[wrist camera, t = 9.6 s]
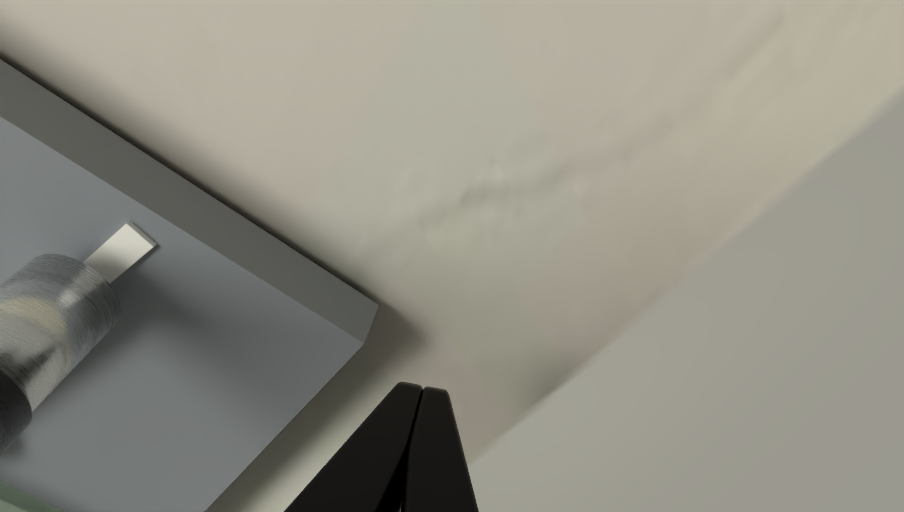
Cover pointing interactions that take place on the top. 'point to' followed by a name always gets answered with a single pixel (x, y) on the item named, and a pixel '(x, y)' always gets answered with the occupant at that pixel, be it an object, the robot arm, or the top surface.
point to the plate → (158, 319)
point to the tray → (21, 501)
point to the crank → (47, 332)
